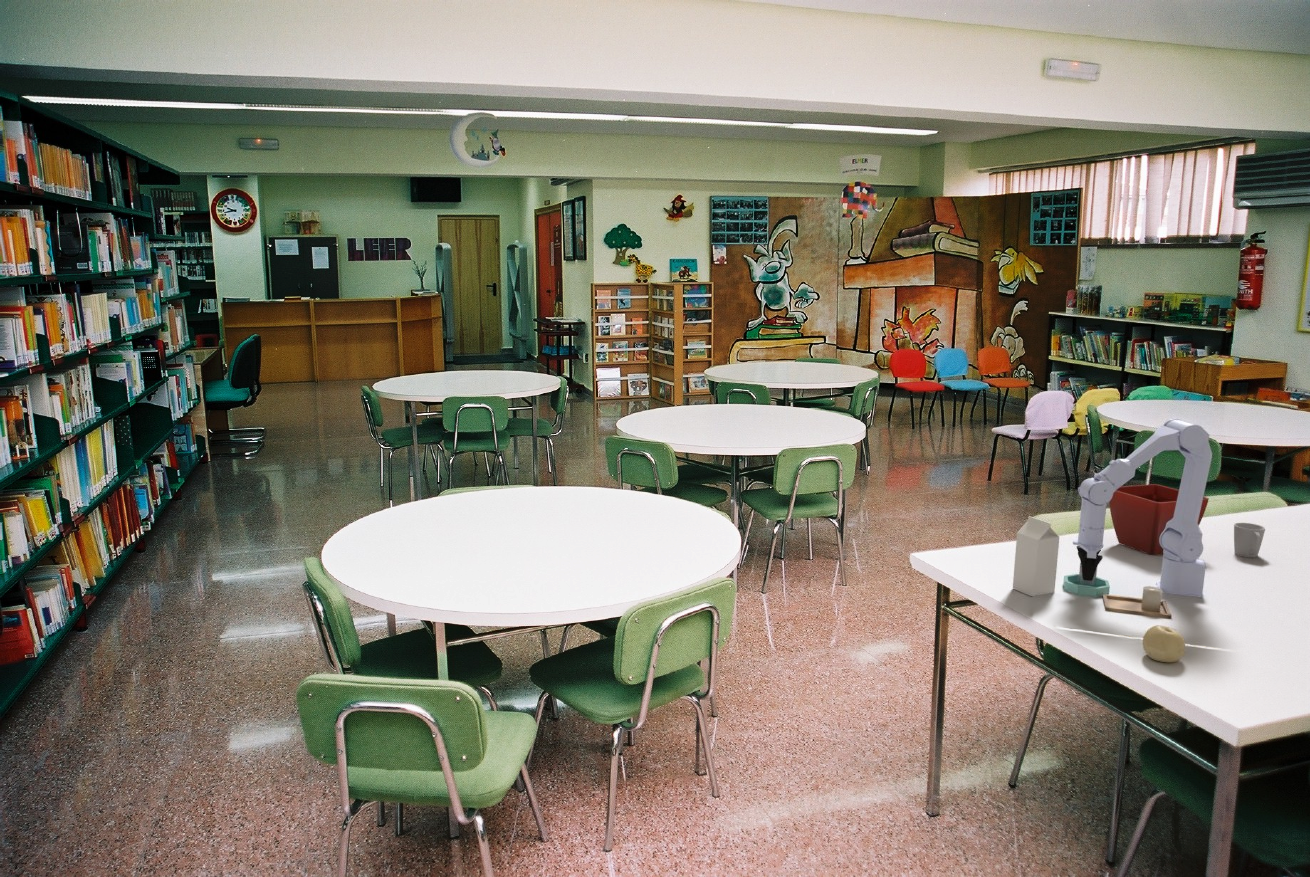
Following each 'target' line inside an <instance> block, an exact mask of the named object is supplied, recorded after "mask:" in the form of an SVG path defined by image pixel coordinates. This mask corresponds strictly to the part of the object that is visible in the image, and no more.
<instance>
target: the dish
mask: <svg viewBox="0 0 1310 877" xmlns="http://www.w3.org/2000/svg"><path fill="white" fill-rule="evenodd" d="M1078 581H1079V573H1072V574H1068V575H1064V576H1063V590H1065V591H1067V592H1070V593H1073V594H1075V595H1078V596H1086V597H1094V598H1097V597H1098V598H1099V597H1102V594H1108V595H1110V590H1111V589H1110V583H1109V580H1107V579H1103V578H1101V577H1099V576H1096V584H1095V585H1092V586H1089V585H1083V584H1080V583H1079V582H1078Z"/></svg>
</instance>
